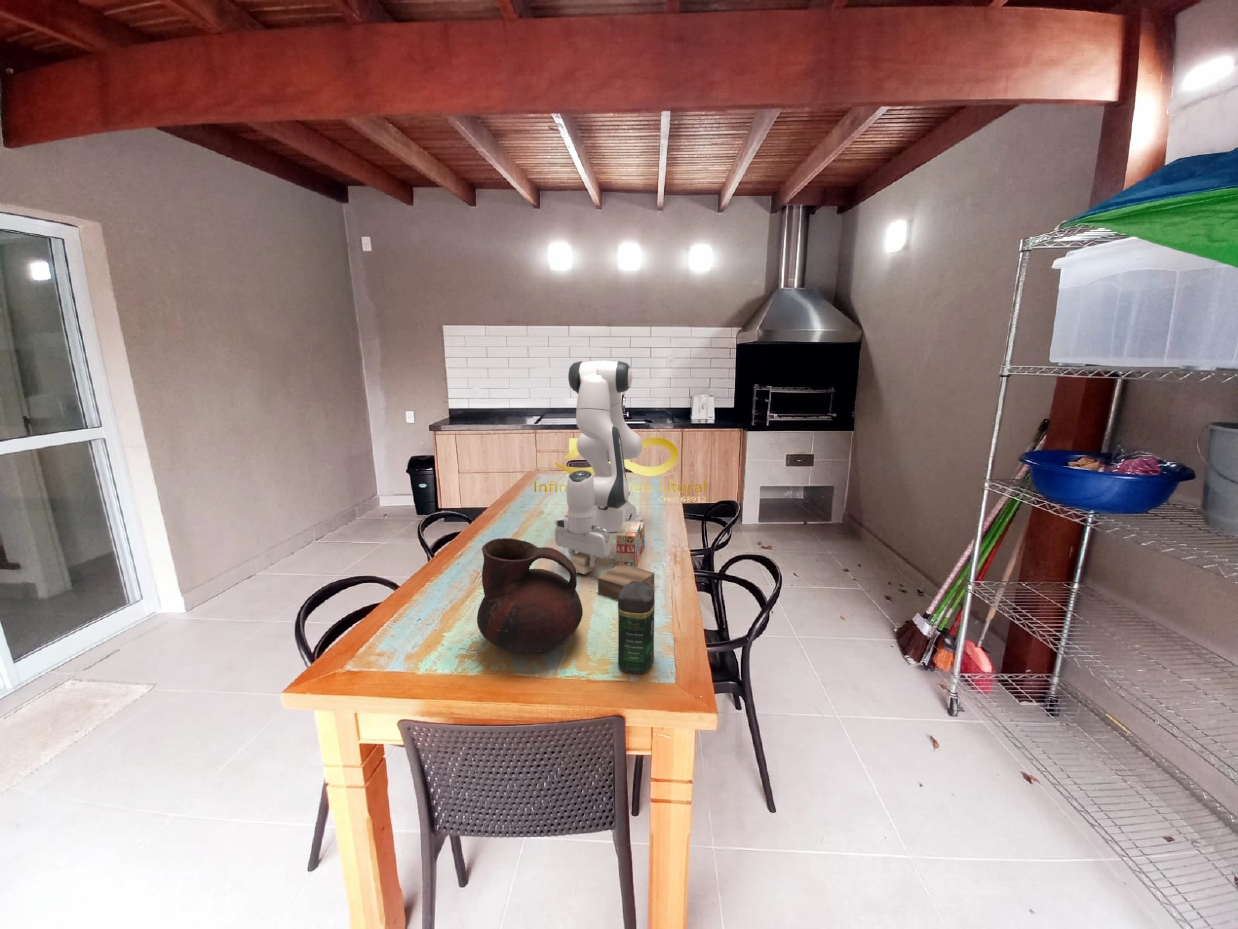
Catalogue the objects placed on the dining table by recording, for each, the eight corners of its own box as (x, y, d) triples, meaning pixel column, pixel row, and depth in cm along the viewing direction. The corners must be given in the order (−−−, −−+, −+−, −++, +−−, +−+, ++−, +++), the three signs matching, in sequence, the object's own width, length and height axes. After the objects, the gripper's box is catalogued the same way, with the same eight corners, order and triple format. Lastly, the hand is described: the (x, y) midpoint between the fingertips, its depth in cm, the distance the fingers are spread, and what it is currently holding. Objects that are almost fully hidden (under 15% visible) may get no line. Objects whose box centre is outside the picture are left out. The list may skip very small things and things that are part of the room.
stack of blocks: (628, 544, 180) (627, 513, 177) (644, 546, 179) (644, 514, 176) (616, 569, 159) (615, 534, 157) (635, 571, 158) (635, 535, 156)
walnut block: (621, 578, 153) (621, 563, 152) (654, 588, 146) (654, 572, 145) (598, 593, 144) (597, 578, 142) (632, 605, 137) (632, 588, 136)
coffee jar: (650, 678, 106) (650, 600, 102) (615, 673, 108) (613, 596, 104) (657, 652, 115) (657, 579, 111) (624, 648, 117) (623, 576, 113)
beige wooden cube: (582, 564, 160) (581, 550, 159) (594, 568, 157) (593, 554, 156) (572, 570, 156) (571, 555, 155) (584, 574, 153) (583, 559, 152)
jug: (568, 678, 106) (563, 572, 101) (460, 667, 111) (451, 564, 105) (593, 618, 130) (591, 529, 125) (504, 610, 135) (498, 524, 129)
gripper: (614, 526, 150) (615, 568, 153) (564, 514, 161) (565, 553, 164) (602, 532, 145) (603, 575, 148) (551, 519, 156) (553, 560, 159)
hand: (583, 563), depth 156 cm, fingers closed on beige wooden cube, 5 cm apart
